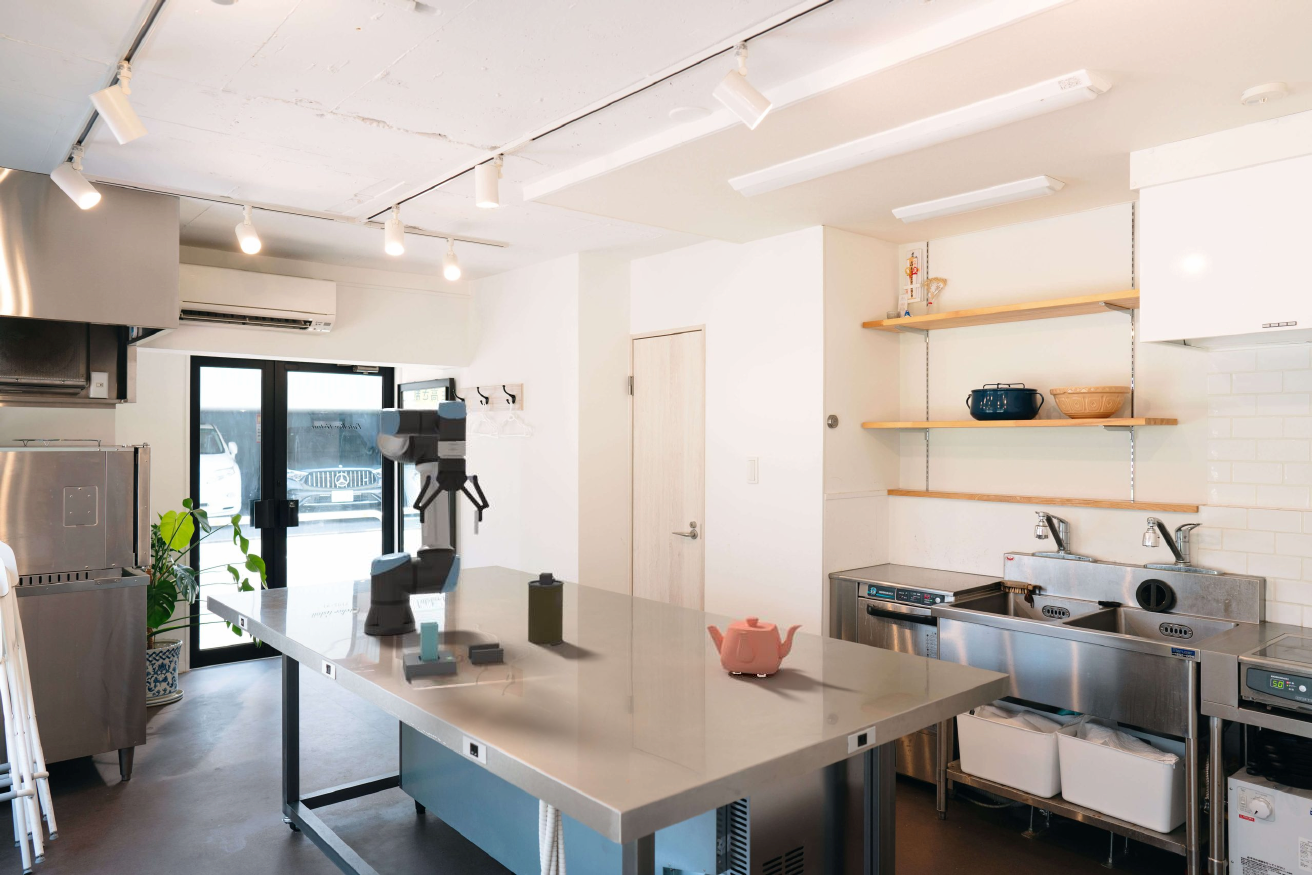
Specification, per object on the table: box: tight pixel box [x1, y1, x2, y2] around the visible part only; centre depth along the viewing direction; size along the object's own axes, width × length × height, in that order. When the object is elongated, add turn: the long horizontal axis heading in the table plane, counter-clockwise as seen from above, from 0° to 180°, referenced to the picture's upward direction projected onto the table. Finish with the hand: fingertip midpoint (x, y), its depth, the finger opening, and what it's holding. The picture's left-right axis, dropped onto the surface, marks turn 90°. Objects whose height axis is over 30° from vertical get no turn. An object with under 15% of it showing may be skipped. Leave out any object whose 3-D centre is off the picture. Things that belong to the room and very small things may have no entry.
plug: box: [419, 621, 439, 661], centre depth 212 cm, size 4×4×12 cm
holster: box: [467, 642, 504, 665], centre depth 222 cm, size 7×8×4 cm
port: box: [402, 649, 457, 681], centre depth 212 cm, size 12×12×4 cm
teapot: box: [706, 616, 803, 675], centre depth 214 cm, size 18×18×14 cm
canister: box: [527, 572, 565, 646], centre depth 245 cm, size 11×10×20 cm
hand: (451, 534), depth 229 cm, fingers open, 13 cm apart
